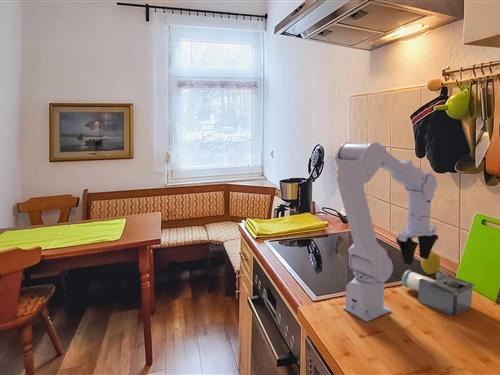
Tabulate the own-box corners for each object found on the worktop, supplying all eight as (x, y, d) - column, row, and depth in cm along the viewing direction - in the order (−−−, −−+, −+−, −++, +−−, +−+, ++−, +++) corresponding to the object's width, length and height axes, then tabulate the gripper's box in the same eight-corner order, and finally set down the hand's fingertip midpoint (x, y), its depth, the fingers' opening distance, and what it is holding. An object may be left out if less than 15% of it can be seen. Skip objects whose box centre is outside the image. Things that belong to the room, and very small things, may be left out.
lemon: (442, 278, 104) (443, 254, 103) (423, 277, 106) (424, 253, 104) (436, 271, 110) (437, 248, 109) (418, 270, 111) (419, 247, 110)
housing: (472, 307, 87) (474, 284, 86) (453, 317, 83) (455, 293, 82) (436, 293, 95) (438, 271, 94) (417, 301, 91) (419, 279, 90)
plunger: (461, 290, 86) (461, 283, 86) (455, 292, 85) (455, 285, 84) (450, 286, 88) (450, 279, 88) (444, 288, 87) (444, 281, 87)
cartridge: (445, 297, 91) (446, 280, 90) (434, 302, 89) (436, 284, 88) (411, 284, 100) (412, 268, 99) (401, 288, 97) (402, 272, 96)
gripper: (416, 221, 86) (413, 271, 88) (447, 213, 93) (444, 259, 95) (392, 216, 92) (390, 262, 94) (423, 209, 99) (421, 252, 101)
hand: (416, 260), depth 95 cm, fingers open, 7 cm apart
